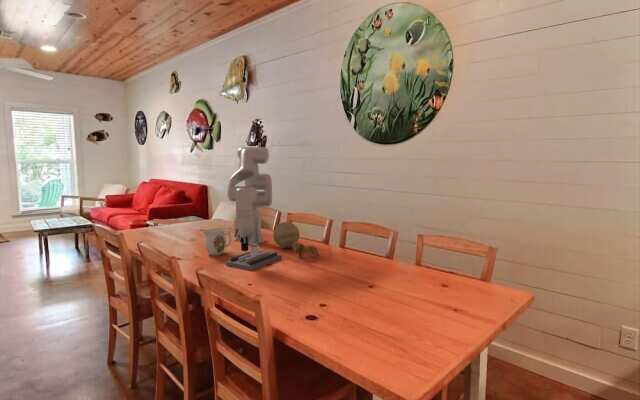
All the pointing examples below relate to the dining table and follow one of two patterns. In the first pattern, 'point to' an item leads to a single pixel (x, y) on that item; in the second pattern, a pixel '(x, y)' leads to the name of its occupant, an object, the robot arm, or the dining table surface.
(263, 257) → the breaker panel
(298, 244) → the lion figurine
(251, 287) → the dining table surface
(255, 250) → the knob
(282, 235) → the decorative ball
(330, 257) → the dining table surface
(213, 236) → the pitcher
